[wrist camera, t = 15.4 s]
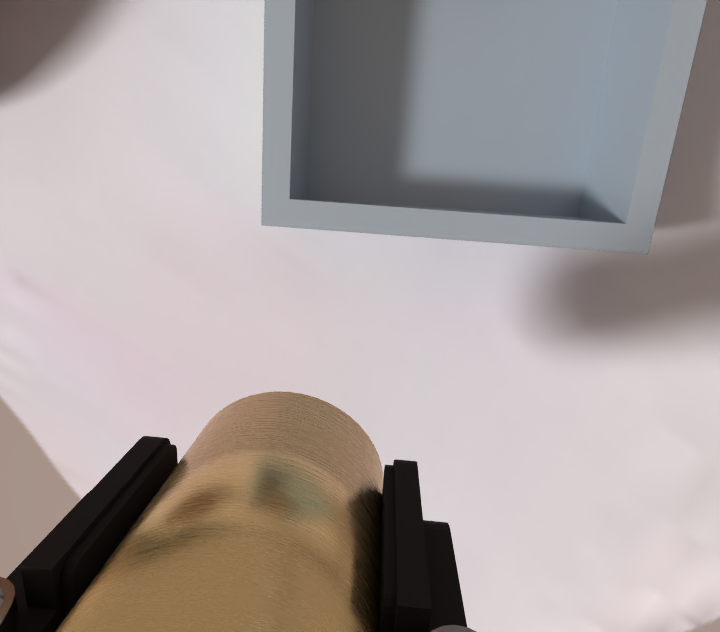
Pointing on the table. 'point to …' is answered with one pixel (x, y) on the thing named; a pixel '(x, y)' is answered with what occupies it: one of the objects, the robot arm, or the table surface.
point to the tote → (475, 117)
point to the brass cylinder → (253, 531)
